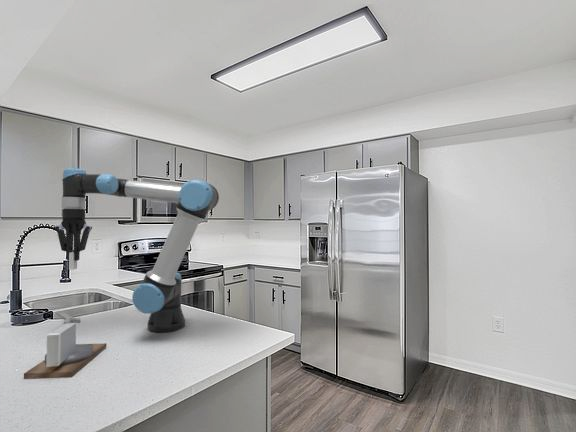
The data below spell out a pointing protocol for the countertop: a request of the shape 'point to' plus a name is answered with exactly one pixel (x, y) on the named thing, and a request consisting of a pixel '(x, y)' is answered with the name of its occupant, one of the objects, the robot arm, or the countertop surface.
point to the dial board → (62, 366)
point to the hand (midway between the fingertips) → (73, 268)
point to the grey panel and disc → (65, 347)
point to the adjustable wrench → (67, 317)
